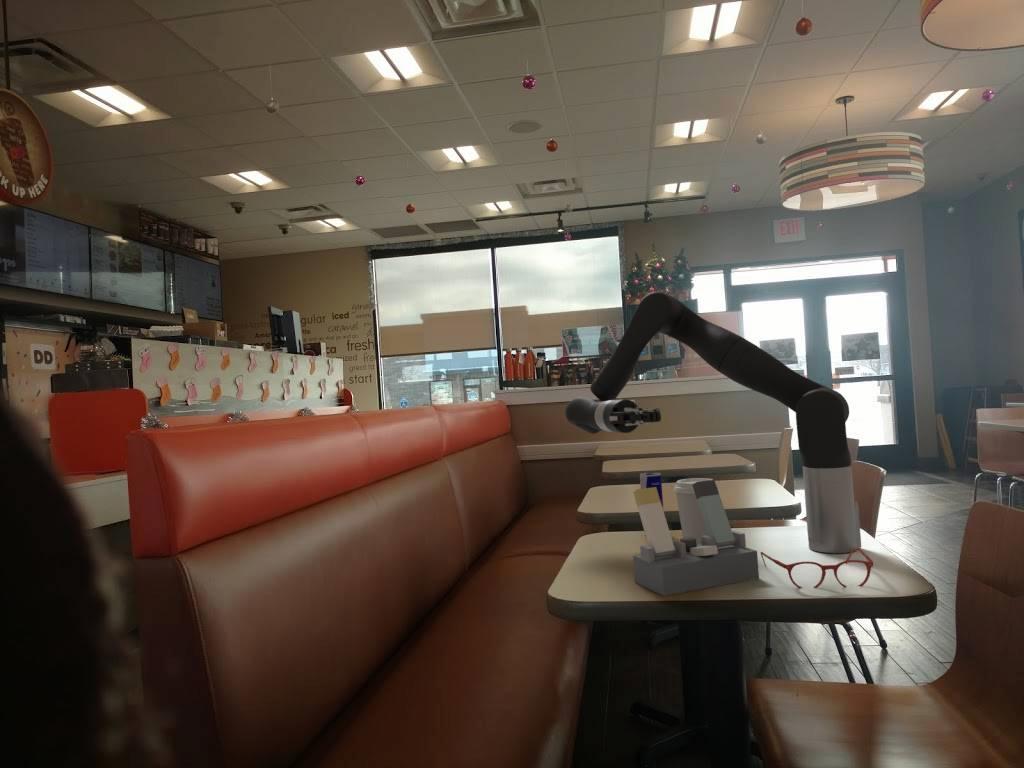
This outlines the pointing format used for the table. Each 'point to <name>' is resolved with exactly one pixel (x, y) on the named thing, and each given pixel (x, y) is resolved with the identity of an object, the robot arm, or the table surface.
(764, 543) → the table surface
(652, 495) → the white and yellow lever
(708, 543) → the console
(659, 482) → the beverage can
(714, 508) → the teal lever
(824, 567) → the red eyeglasses
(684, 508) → the coffee cup
